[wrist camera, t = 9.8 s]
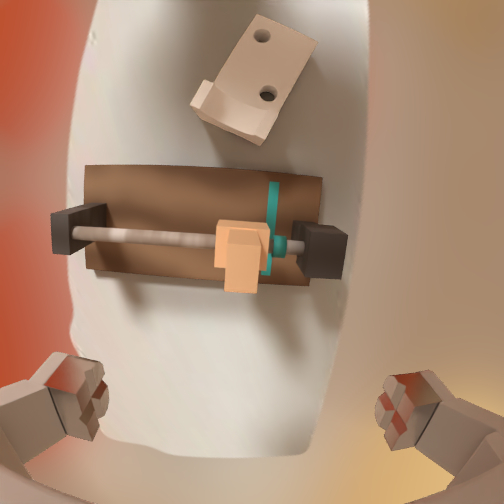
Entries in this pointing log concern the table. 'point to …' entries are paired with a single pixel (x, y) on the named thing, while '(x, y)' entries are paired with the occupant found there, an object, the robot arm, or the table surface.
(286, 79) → the bracket
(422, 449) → the robot arm
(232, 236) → the orange l-shaped block
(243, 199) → the linear slide rail
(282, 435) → the table surface
